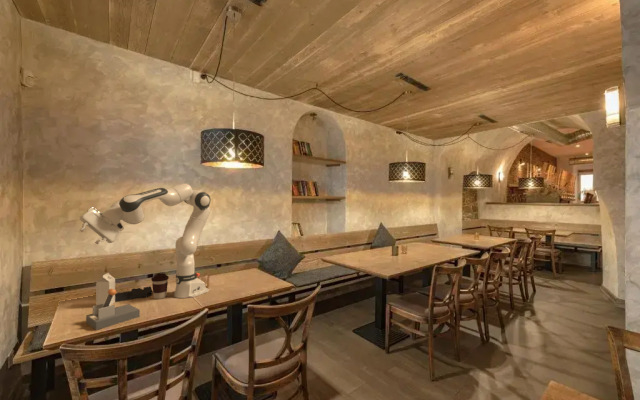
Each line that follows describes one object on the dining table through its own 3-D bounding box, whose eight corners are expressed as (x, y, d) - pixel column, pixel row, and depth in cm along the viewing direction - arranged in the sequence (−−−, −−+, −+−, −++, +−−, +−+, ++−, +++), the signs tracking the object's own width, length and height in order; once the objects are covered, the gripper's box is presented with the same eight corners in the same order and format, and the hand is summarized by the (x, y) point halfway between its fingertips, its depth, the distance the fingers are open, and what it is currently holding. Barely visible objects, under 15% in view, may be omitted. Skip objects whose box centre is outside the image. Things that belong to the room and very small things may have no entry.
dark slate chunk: (113, 296, 195) (113, 289, 195) (151, 290, 207) (151, 284, 207) (112, 303, 182) (112, 295, 182) (152, 297, 194) (152, 290, 194)
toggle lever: (104, 312, 156) (115, 288, 160) (107, 314, 154) (117, 290, 158) (98, 312, 154) (109, 288, 157) (101, 313, 152) (111, 289, 155)
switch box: (128, 310, 170) (128, 295, 170) (139, 316, 162) (139, 300, 162) (86, 322, 154) (86, 305, 154) (96, 330, 146) (96, 312, 146)
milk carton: (96, 307, 175) (96, 275, 174) (102, 303, 182) (102, 272, 181) (109, 306, 176) (109, 275, 176) (115, 302, 183) (115, 272, 183)
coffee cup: (161, 300, 187) (161, 277, 187) (147, 299, 189) (147, 276, 189) (171, 295, 197) (171, 273, 196) (159, 294, 199) (159, 272, 198)
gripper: (96, 204, 156) (74, 221, 145) (126, 230, 166) (108, 248, 155) (89, 207, 158) (68, 224, 148) (120, 232, 168) (101, 251, 158)
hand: (89, 237), depth 152 cm, fingers open, 8 cm apart
